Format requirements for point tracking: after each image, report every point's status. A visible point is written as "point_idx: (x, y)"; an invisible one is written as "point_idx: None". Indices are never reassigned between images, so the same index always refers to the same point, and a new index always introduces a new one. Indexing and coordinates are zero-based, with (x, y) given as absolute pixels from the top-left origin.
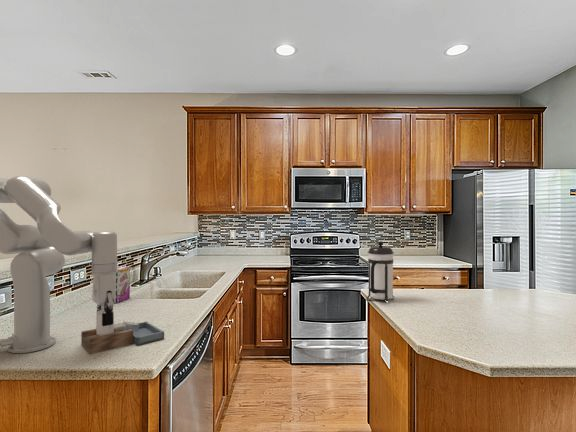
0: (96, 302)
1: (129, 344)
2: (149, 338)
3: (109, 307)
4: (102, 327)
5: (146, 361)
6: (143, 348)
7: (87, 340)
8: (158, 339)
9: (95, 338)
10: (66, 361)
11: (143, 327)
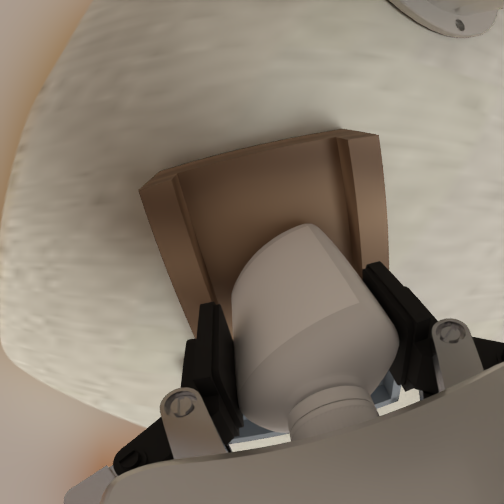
0: (282, 466)
1: None
2: None
3: (96, 477)
4: (256, 286)
5: (34, 354)
6: (147, 370)
7: (243, 165)
8: None
9: (152, 224)
10: (115, 73)
11: (384, 380)
